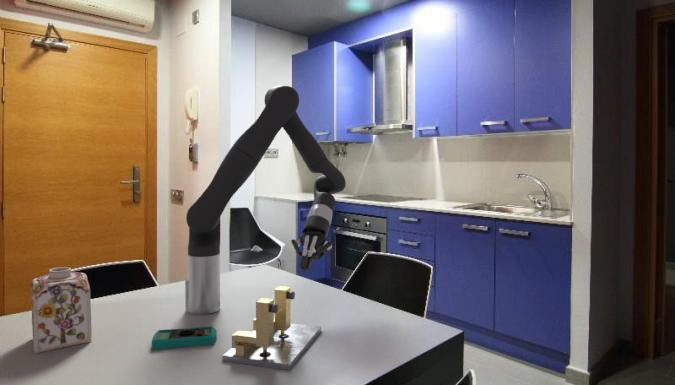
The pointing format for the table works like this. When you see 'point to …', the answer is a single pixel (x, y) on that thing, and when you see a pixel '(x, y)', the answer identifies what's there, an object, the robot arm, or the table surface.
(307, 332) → the flange plate
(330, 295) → the table surface
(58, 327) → the decorative jar
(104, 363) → the table surface
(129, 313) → the table surface
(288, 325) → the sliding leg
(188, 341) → the digital multimeter
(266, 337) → the tan block assembly
